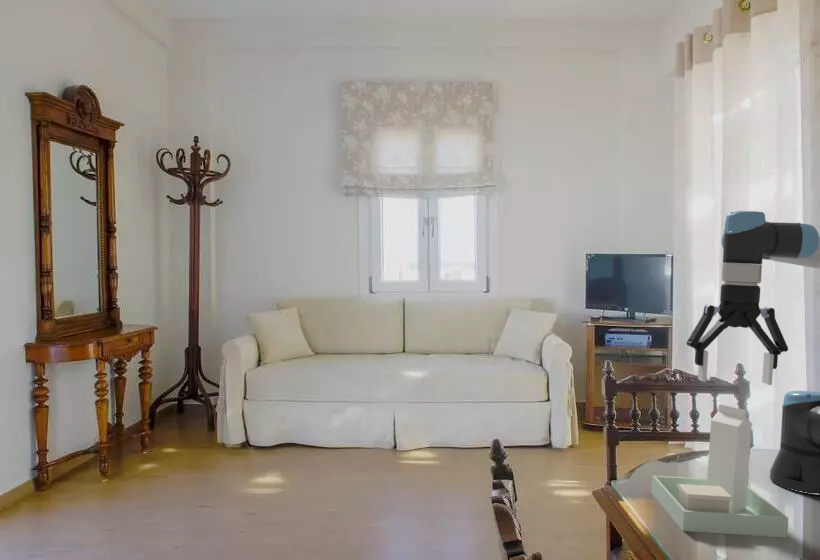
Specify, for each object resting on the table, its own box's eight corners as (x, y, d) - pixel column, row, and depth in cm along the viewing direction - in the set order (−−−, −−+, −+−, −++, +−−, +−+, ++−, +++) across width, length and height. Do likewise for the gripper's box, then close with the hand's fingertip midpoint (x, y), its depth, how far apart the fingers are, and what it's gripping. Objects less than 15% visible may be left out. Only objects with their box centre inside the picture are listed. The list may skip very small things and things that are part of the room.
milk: (732, 514, 136) (739, 412, 134) (704, 504, 141) (711, 405, 139) (746, 508, 139) (753, 408, 138) (719, 499, 144) (725, 402, 143)
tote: (740, 500, 146) (742, 480, 145) (786, 540, 126) (788, 518, 125) (650, 494, 147) (652, 475, 147) (682, 533, 127) (683, 511, 127)
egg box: (718, 518, 134) (720, 486, 133) (729, 530, 128) (732, 496, 128) (675, 515, 134) (677, 483, 134) (685, 527, 128) (687, 494, 128)
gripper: (791, 285, 140) (785, 381, 141) (675, 280, 142) (669, 375, 143) (810, 287, 133) (803, 388, 134) (687, 282, 134) (681, 382, 136)
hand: (734, 382), depth 139 cm, fingers open, 13 cm apart
